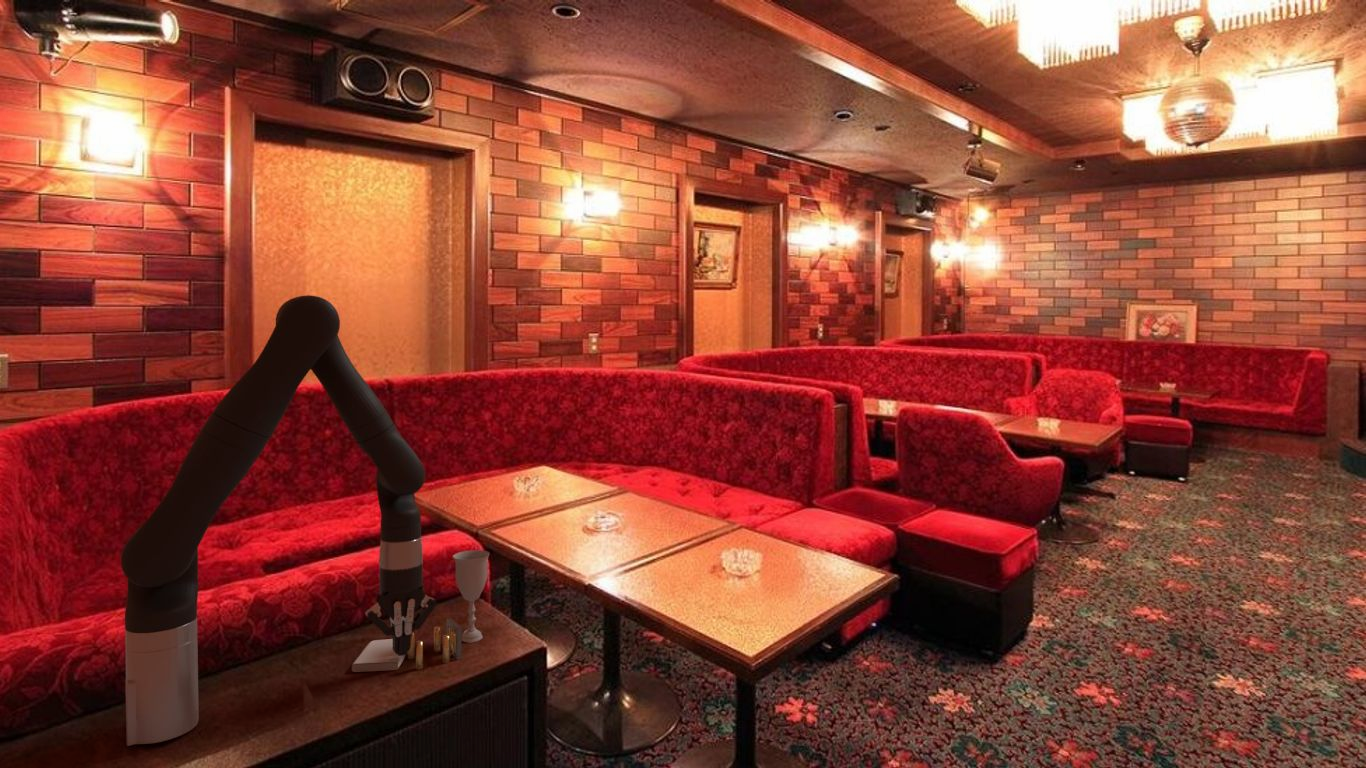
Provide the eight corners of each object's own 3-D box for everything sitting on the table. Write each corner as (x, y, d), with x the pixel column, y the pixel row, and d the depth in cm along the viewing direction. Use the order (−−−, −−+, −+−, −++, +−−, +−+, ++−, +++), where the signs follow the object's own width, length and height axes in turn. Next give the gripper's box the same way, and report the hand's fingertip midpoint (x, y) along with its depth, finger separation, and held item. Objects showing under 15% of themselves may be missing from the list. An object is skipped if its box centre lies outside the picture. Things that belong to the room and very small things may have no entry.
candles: (417, 670, 132) (417, 637, 132) (406, 658, 137) (406, 626, 137) (462, 658, 138) (462, 627, 137) (451, 648, 143) (451, 617, 142)
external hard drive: (398, 661, 132) (414, 636, 145) (351, 663, 131) (371, 638, 144) (398, 669, 132) (414, 644, 145) (351, 672, 131) (371, 646, 144)
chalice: (480, 633, 151) (480, 548, 150) (496, 642, 146) (496, 555, 145) (447, 642, 146) (446, 554, 145) (462, 652, 141) (461, 561, 140)
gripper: (368, 573, 126) (369, 670, 127) (443, 560, 134) (443, 652, 135) (358, 563, 132) (358, 655, 133) (430, 552, 140) (430, 639, 141)
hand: (401, 653), depth 134 cm, fingers closed
